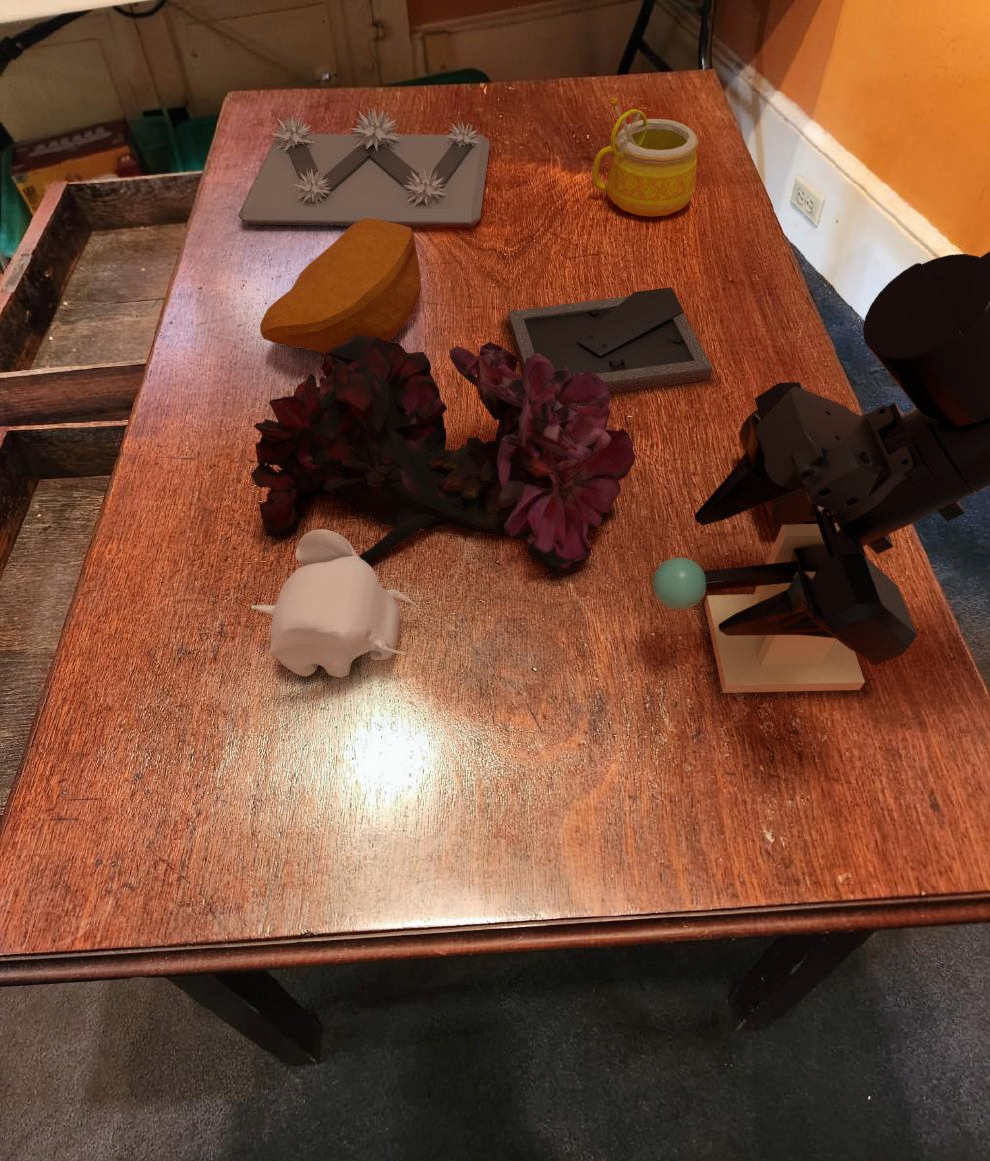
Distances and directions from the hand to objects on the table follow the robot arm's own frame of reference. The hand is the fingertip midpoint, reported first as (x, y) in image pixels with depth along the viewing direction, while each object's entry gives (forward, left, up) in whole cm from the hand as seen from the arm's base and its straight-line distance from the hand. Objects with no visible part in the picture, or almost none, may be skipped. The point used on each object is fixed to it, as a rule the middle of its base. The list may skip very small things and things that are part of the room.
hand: (709, 572), depth 53 cm
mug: (+7, -66, -10) cm, 67 cm away
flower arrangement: (+21, -13, -10) cm, 27 cm away
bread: (+37, -36, -10) cm, 53 cm away
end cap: (-8, -17, -10) cm, 21 cm away
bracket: (-7, -1, -9) cm, 12 cm away
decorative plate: (+42, -65, -10) cm, 78 cm away
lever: (-3, 0, -2) cm, 4 cm away
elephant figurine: (+26, +4, -10) cm, 28 cm away
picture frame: (+9, -35, -10) cm, 38 cm away
